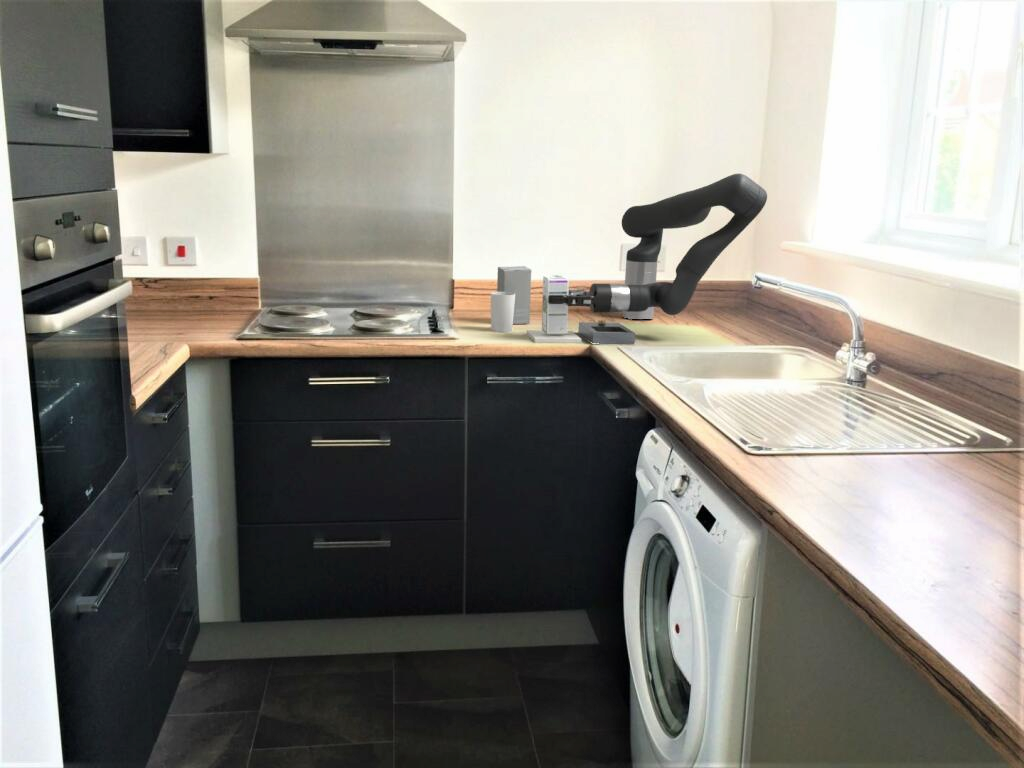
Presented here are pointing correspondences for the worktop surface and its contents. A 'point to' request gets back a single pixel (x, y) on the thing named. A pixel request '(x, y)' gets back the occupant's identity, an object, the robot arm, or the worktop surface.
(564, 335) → the off-white mat
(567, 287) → the syrup box
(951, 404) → the worktop surface
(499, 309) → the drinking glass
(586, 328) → the dark grey tray
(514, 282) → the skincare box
